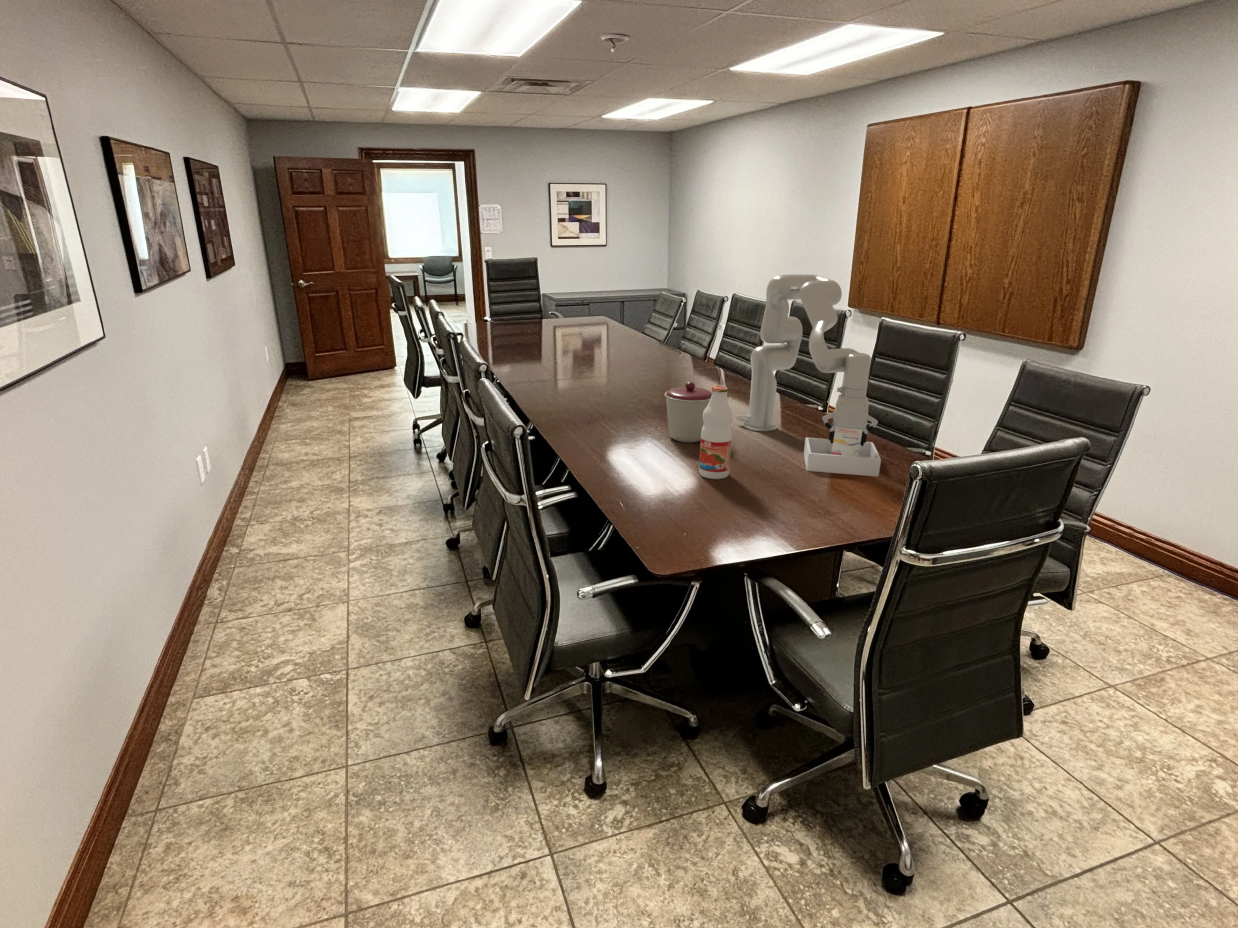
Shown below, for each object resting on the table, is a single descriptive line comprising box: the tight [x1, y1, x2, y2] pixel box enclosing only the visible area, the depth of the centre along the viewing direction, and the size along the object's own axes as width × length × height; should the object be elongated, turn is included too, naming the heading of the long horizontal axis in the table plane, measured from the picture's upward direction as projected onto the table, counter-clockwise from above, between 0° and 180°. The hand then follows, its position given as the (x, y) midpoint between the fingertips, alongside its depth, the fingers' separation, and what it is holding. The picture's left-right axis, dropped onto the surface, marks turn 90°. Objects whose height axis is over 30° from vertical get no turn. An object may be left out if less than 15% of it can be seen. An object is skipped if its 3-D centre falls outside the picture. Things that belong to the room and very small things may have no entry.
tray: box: [803, 436, 882, 477], centre depth 227 cm, size 22×18×6 cm
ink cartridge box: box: [831, 426, 863, 457], centre depth 225 cm, size 9×5×15 cm, turn 71°
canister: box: [664, 381, 712, 443], centre depth 249 cm, size 18×18×21 cm
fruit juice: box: [698, 385, 734, 480], centre depth 212 cm, size 9×9×28 cm
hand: (846, 443), depth 226 cm, fingers closed on ink cartridge box, 9 cm apart
